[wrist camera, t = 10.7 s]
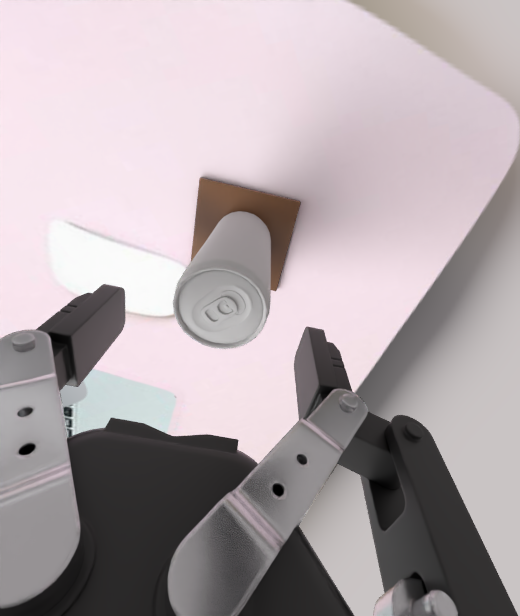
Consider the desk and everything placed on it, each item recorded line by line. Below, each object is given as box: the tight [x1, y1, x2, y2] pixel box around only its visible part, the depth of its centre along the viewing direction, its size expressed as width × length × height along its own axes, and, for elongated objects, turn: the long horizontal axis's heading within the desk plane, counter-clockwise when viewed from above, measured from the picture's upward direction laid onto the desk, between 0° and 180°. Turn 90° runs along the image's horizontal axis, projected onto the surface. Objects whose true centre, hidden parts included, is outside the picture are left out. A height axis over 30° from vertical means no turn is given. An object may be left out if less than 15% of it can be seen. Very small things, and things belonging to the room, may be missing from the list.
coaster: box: [191, 178, 301, 291], centre depth 25 cm, size 8×8×1 cm
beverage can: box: [173, 211, 271, 349], centre depth 19 cm, size 5×5×12 cm
